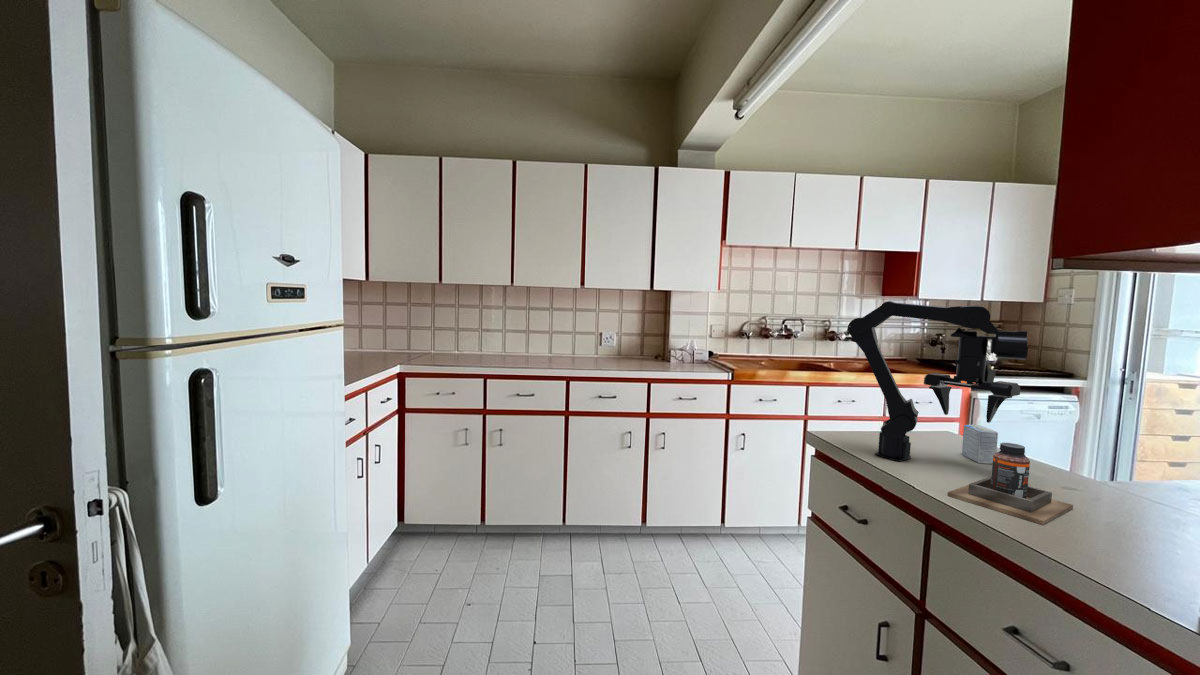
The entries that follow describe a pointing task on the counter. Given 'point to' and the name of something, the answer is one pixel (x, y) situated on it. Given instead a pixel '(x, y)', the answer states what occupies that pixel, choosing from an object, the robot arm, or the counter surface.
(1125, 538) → the counter surface
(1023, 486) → the supplement bottle
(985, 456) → the medicine box
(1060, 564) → the counter surface
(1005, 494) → the socket board
